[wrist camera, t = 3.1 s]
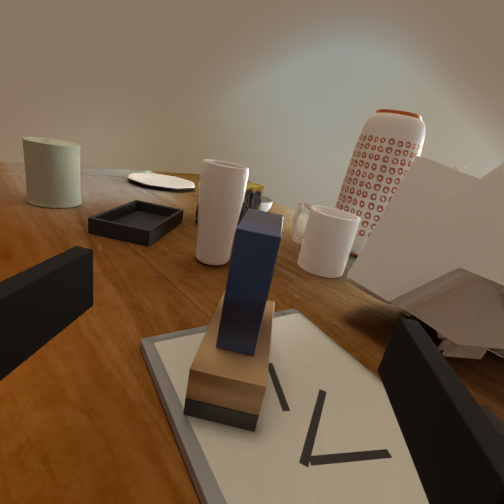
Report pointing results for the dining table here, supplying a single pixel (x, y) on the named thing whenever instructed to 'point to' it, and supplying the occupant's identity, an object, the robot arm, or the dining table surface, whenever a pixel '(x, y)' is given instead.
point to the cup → (325, 240)
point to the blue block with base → (239, 331)
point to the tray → (136, 222)
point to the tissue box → (442, 256)
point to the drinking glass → (219, 209)
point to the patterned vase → (379, 167)
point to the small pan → (265, 204)
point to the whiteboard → (291, 426)
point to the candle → (248, 199)
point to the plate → (161, 181)
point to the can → (52, 172)
